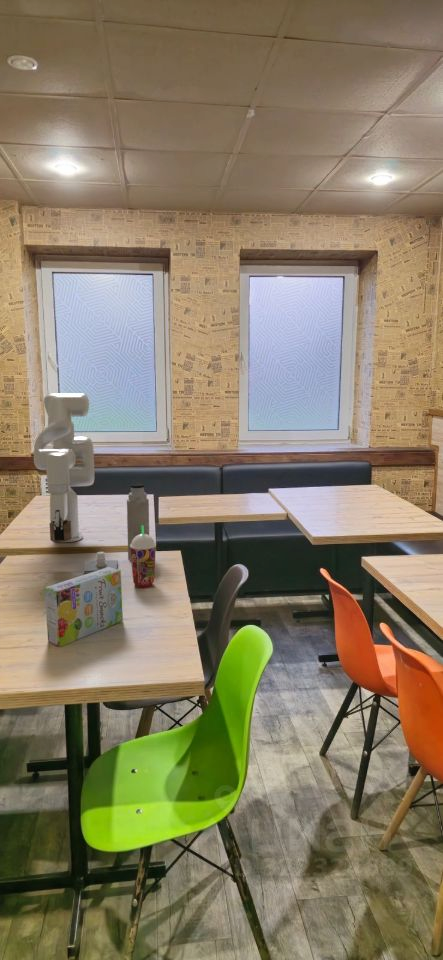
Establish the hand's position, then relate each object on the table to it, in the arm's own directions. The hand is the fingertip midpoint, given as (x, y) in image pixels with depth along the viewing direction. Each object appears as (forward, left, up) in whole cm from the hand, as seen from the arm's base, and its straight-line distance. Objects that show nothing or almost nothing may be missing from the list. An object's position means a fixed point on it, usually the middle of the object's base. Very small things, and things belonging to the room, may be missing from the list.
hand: (61, 536), depth 214 cm
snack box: (+57, +14, -11) cm, 60 cm away
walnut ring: (0, 0, -1) cm, 1 cm away
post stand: (+5, +14, -11) cm, 19 cm away
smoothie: (+23, +29, -11) cm, 39 cm away
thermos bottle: (-7, +27, -11) cm, 30 cm away
